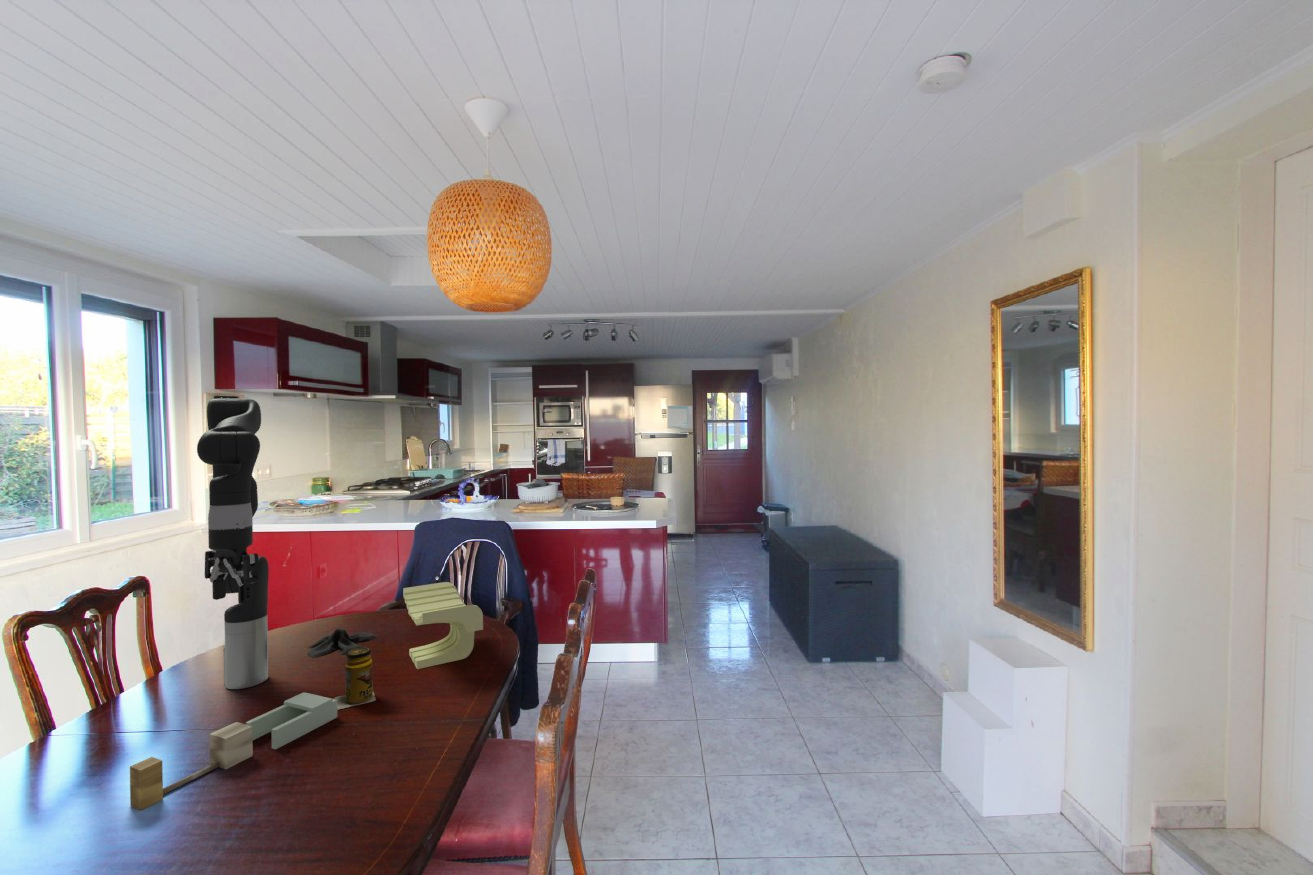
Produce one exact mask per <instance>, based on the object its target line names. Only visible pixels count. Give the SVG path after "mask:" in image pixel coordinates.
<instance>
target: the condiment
mask: <svg viewBox="0 0 1313 875" xmlns="http://www.w3.org/2000/svg"><path fill="white" fill-rule="evenodd" d="M364 647H365V646H363V648H356V649H353V650H350V651H349V652H348V653H347V654H346V663H345V664H344V684H345V685H344V690H345V691H344V695H339V696H335V697H334V698H333V699H335V700H337V711H339V710H341V709H342V710H343V709H345V708H346V709H347V708H350V707H354V706H355V707H356V706H360V705H364V704H368V703H372V702H375V701H377V698H376V696H375V692H374V683H373V681H374V678H373V677H374V676H373V672H374V671H373V669H374V668H373V659H372V658H371V657H372V655H371V652H372V651H371V649H370V648H368V647H366V648H364Z"/></svg>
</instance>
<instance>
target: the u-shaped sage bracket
mask: <svg viewBox="0 0 1313 875" xmlns="http://www.w3.org/2000/svg"><path fill="white" fill-rule="evenodd" d="M337 718H338V710H337V700H335V698H331V697H325V696H322V695H317V694H313V693H308V692H304V691H303V692H301V693H299V694H297V695H295V696H293V697H291V698H288V699H286V700H284V701H283V705H281V706H279V707H276V708H273V709H272V710H269V711H267V712H265V713H263V714H260V715H258V716H256V717H254V718H252V719H250V720H248V721H245V724H246V725H249V726H252V740H253V741H254V740H255V741H256V739H259V738H260V737H262V736H265V735H267V734H269V733H271V749H272V750H278V749H279V748H281V747H283V746H285V745H287V744H290V743H291V742H293V741H295V740H297V739H299V738H300V737H302V736H305V735H306V734H308V733H311V731H314V730H315V729H318V728H319V727H321V726H323V725H326V724H328V723H329V722H331V721H333V720H334V719H337Z"/></svg>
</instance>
